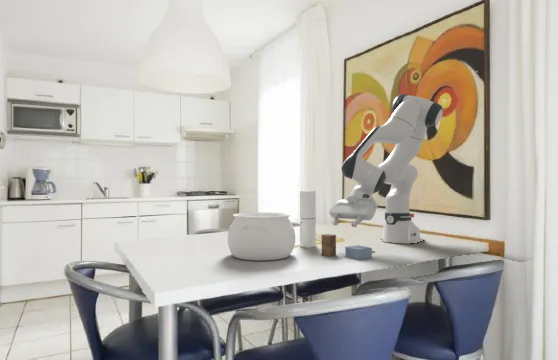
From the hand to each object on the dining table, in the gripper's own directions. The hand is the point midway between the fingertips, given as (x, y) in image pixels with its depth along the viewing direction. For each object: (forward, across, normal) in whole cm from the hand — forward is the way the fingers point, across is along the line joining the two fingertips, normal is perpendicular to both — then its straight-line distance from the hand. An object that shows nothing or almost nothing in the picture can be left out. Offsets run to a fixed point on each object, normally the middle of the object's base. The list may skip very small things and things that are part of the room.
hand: (343, 225), depth 153 cm
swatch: (+2, +4, +14) cm, 15 cm away
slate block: (+10, +9, +6) cm, 15 cm away
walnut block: (+14, -2, +2) cm, 14 cm away
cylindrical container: (+7, -22, +9) cm, 24 cm away
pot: (+28, -18, -12) cm, 36 cm away
